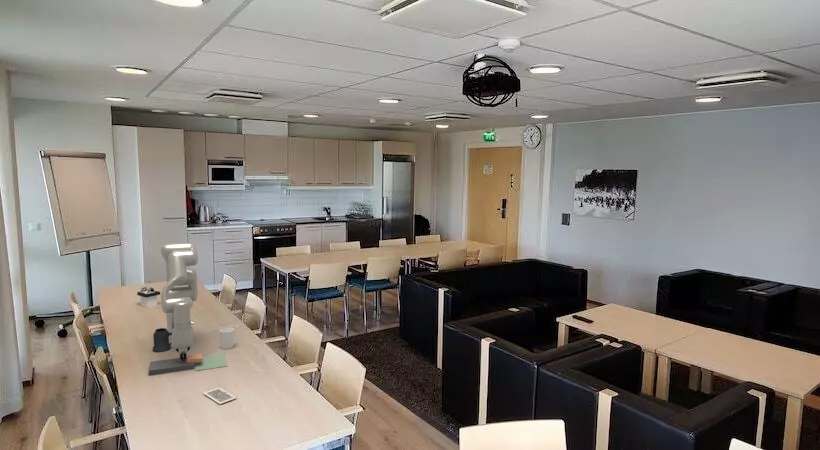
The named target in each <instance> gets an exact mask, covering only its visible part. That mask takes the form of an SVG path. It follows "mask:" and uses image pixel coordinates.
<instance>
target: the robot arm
mask: <svg viewBox="0 0 820 450" xmlns="http://www.w3.org/2000/svg"><path fill="white" fill-rule="evenodd" d="M160 253H161V256H162V258H163V260H164V261H165V267H166V268H165V272H166V273H165V275H166V283H165V285H164V286H163V287H162V290H161V292H160V299H161V301H160V302H161V310H162V312H163V313H165V314H166V329H167V331H168V332H169V333H172V335H169V344H170V343H171V342H172V345H171V349H170V351H173V352H177V353H178V354H179V358H180V359H182V361H183V359H184V361H185V359H187V354H188V352H189V351H190V350H192V349H195V335H194V329H193V328H194V327H193V325H194V321H191V309H192V307H193V303H194V302H196V301H197V299H198V273H197V271H196V270H195V268H191V266H192V267H193V266H196V265H197V264H198V261H199V255H198V250H197V248H196V244H194V242H174V243H164V244H162V245H161V247H160ZM188 267H190V268H188ZM183 348H184V350H182V349H183Z"/></svg>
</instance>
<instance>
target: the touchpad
mask: <svg viewBox="0 0 820 450" xmlns="http://www.w3.org/2000/svg"><path fill="white" fill-rule="evenodd" d="M202 394H204V395H206V397H208V398H210V399H211V400H212V401H215V402H216V403H217V404H219V405H221V404H223V403H226V402H229V401H232V400H236V399H237V398H238V397H236V396H234V394H232V393H230V392H228V391H226V390H225V389H223V388H221V387H217V388H213V389H211V390H208V391H205V392H203V393H202Z"/></svg>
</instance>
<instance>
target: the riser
mask: <svg viewBox="0 0 820 450" xmlns="http://www.w3.org/2000/svg"><path fill="white" fill-rule="evenodd" d="M191 370H195V363H187V359H185V361H184V359H183V361H182V359H180V357H175V358H168V359H160V360H159V359H158V360H152V361H149V366H148V376H155V375H164V374H170V373H177V372H182V371H191Z"/></svg>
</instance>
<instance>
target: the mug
mask: <svg viewBox="0 0 820 450" xmlns="http://www.w3.org/2000/svg"><path fill="white" fill-rule="evenodd" d="M169 335H172V333H169V332H168V331H167V327H166V328H165V327H160V328H156V329H155V330H154V333H153V337H152V338H153V346H152V350H151V351H152V352H153V353H164V352H167V351H171V348H172V342H171V343H170V344H169Z"/></svg>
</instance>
